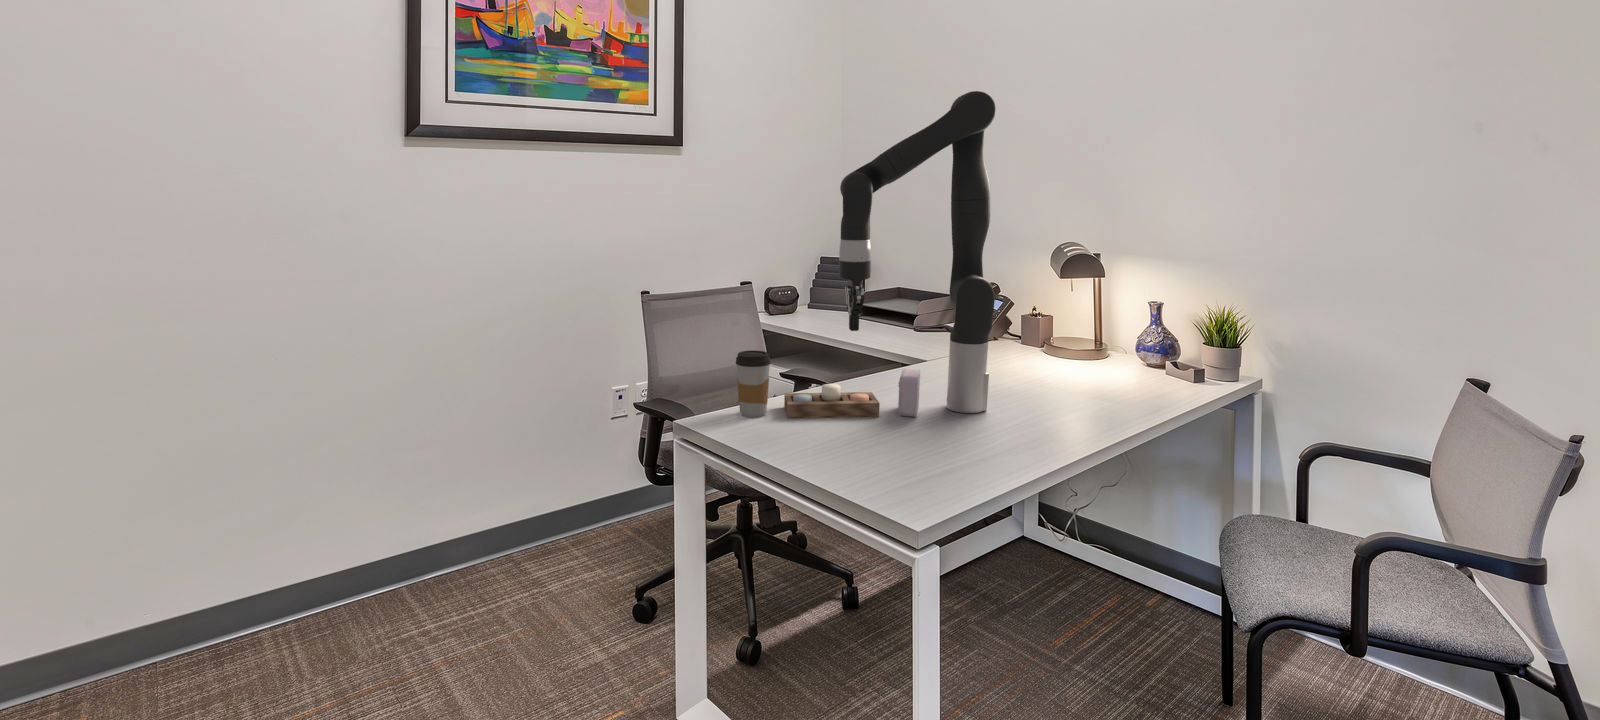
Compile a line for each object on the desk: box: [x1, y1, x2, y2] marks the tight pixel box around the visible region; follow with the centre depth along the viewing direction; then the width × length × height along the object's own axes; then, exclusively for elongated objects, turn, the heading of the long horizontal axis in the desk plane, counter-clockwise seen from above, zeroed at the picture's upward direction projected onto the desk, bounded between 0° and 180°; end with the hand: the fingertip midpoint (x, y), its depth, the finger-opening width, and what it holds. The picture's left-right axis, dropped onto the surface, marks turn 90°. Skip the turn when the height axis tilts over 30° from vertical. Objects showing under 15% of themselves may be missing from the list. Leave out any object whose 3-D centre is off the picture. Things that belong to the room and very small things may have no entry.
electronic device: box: [897, 368, 921, 418], centre depth 192 cm, size 10×5×10 cm, turn 168°
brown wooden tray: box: [783, 391, 881, 420], centre depth 192 cm, size 22×10×4 cm, turn 96°
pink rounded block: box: [850, 393, 869, 401], centre depth 192 cm, size 5×5×3 cm
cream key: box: [821, 383, 842, 401], centre depth 191 cm, size 5×5×3 cm
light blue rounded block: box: [793, 394, 812, 402], centre depth 191 cm, size 5×5×3 cm
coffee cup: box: [735, 349, 771, 419], centre depth 188 cm, size 8×8×15 cm
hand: (853, 330), depth 191 cm, fingers closed
